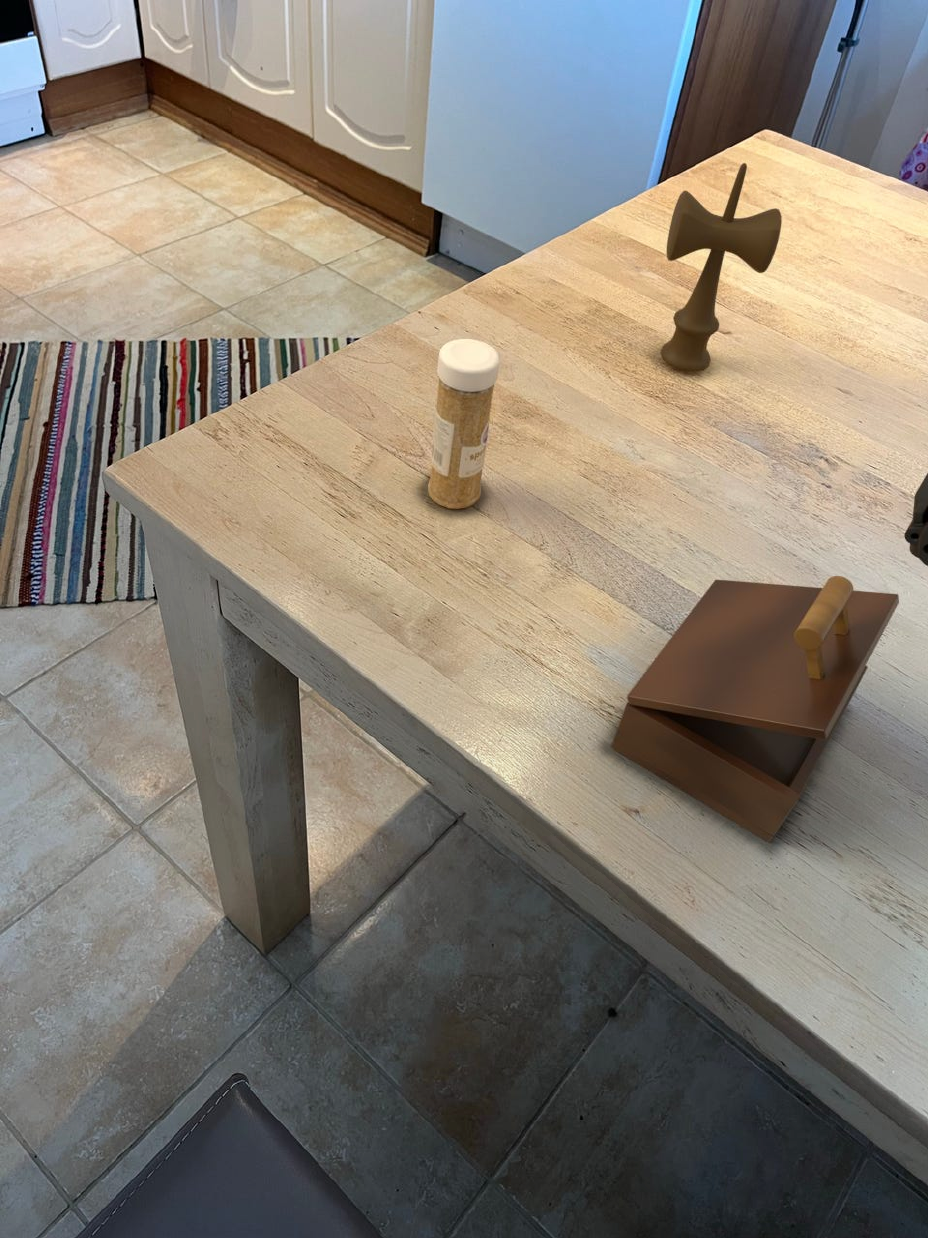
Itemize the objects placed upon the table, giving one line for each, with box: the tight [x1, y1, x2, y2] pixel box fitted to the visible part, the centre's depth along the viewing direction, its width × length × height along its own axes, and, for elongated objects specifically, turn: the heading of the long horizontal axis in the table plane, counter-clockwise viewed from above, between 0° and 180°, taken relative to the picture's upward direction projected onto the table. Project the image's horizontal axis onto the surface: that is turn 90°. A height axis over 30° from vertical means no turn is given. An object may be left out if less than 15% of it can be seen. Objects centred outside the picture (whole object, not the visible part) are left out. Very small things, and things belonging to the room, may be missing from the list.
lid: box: [626, 575, 900, 740], centre depth 59 cm, size 12×14×4 cm
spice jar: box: [427, 338, 500, 510], centre depth 75 cm, size 5×5×13 cm
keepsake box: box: [610, 665, 869, 843], centre depth 64 cm, size 12×14×5 cm
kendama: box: [660, 162, 783, 373], centre depth 90 cm, size 6×10×20 cm, turn 81°
